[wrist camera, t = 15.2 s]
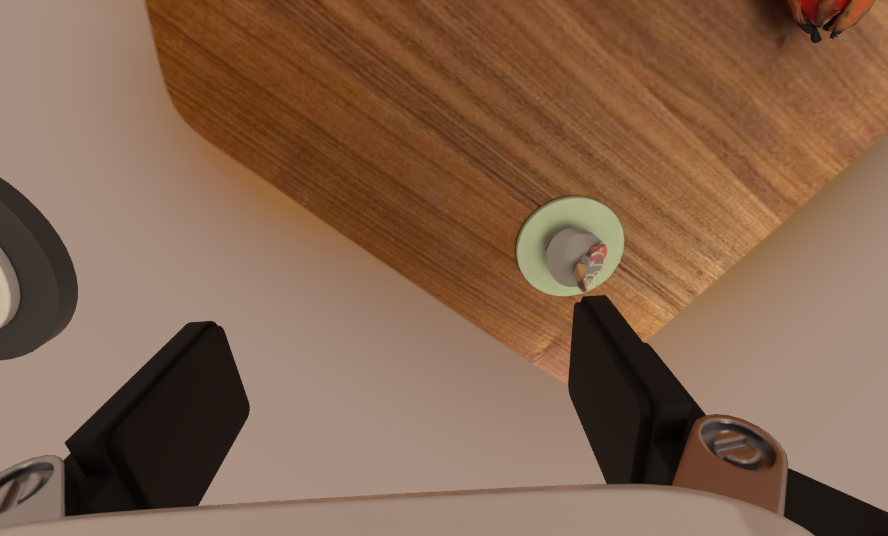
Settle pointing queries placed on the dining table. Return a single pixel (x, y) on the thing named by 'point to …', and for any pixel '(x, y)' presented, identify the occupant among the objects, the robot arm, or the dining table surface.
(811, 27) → the dragon fruit
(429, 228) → the dining table surface
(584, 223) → the mat
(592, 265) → the figurine
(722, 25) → the dining table surface
